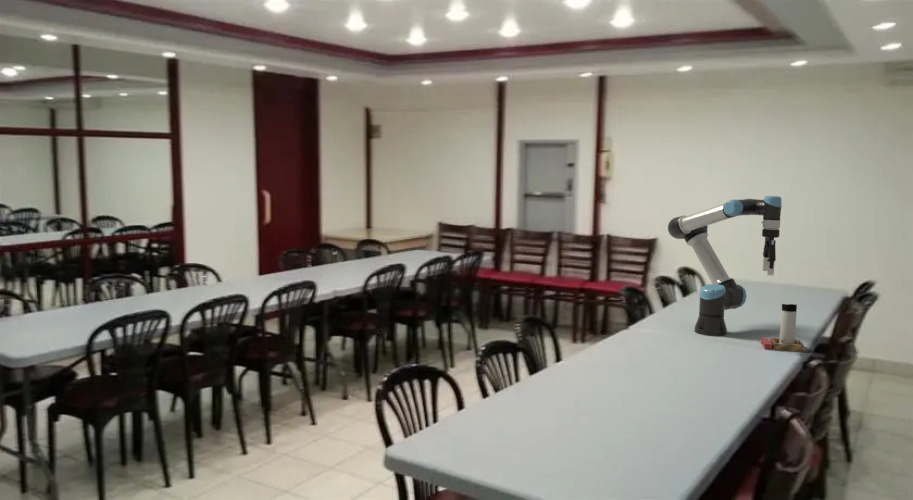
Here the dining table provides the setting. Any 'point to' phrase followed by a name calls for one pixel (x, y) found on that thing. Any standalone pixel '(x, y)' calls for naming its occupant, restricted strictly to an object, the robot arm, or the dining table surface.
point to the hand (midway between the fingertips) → (768, 273)
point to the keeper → (787, 346)
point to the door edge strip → (766, 343)
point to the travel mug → (788, 324)
